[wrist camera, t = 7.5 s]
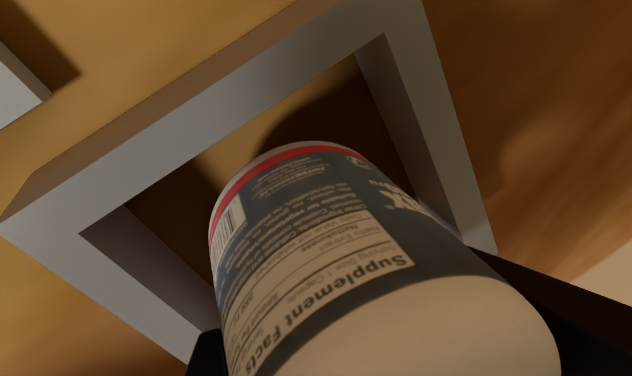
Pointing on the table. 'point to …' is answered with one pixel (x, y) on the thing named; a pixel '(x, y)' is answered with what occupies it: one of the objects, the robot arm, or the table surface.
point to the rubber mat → (17, 88)
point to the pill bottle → (357, 279)
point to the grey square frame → (214, 124)
